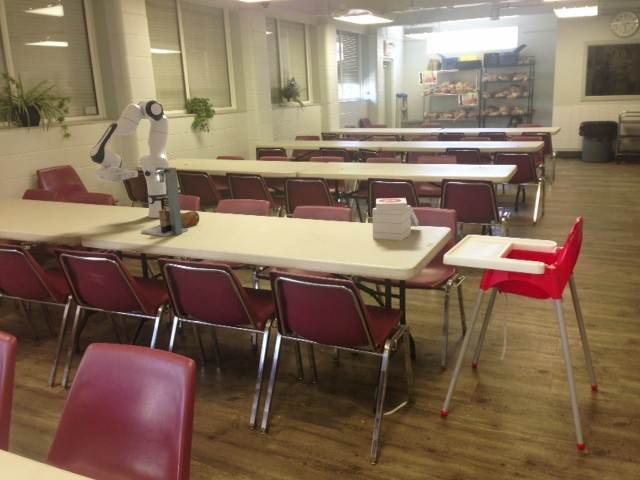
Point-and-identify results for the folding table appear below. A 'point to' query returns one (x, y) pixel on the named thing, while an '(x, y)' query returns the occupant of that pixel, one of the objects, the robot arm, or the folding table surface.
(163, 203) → the coffee box
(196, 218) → the tin
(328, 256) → the folding table surface
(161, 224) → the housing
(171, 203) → the press
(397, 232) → the pizza boxes
